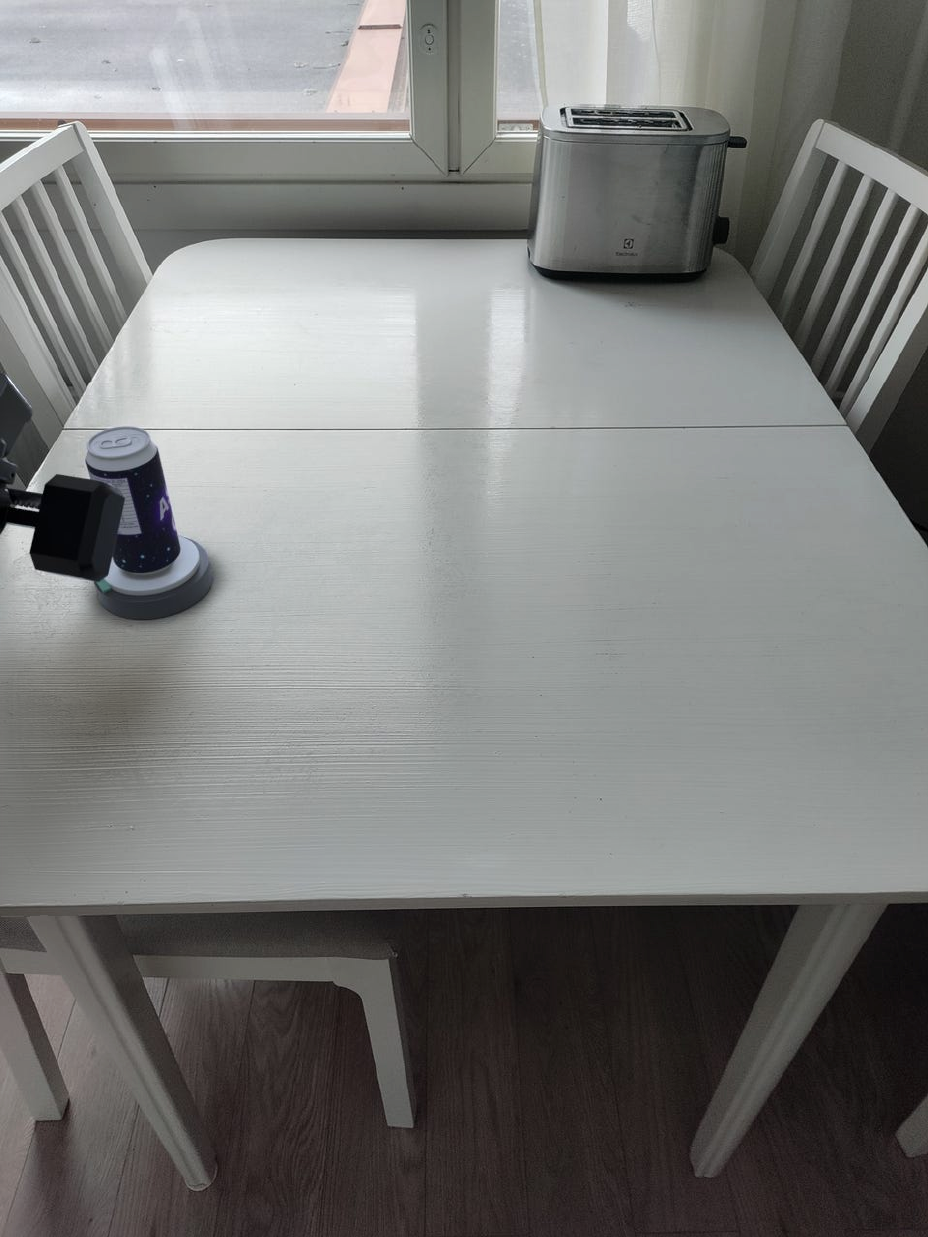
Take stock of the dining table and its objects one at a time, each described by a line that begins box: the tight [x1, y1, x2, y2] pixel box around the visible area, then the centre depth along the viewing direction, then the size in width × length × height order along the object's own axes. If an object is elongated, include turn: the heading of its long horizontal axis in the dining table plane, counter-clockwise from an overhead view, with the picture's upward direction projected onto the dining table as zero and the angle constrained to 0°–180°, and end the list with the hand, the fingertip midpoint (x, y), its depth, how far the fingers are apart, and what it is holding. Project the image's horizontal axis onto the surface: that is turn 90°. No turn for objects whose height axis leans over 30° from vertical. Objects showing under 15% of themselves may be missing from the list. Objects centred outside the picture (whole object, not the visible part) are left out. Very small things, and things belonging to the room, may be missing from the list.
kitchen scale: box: [93, 534, 214, 620], centre depth 85 cm, size 10×10×3 cm
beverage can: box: [84, 425, 181, 576], centre depth 80 cm, size 6×6×12 cm
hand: (55, 536), depth 70 cm, fingers open, 9 cm apart
